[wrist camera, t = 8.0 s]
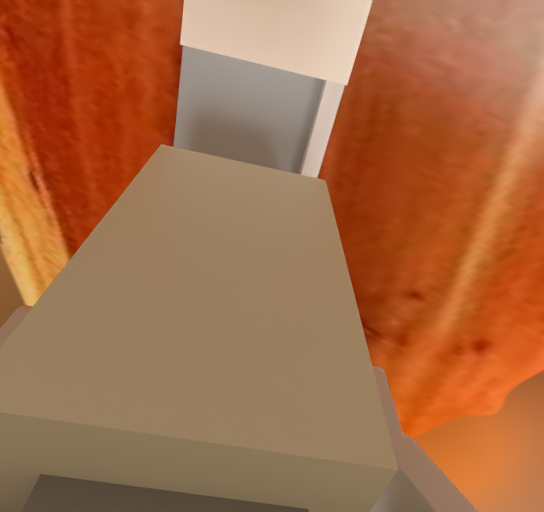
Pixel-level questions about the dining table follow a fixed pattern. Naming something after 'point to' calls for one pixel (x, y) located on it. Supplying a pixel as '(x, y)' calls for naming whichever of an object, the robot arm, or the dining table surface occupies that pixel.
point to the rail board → (265, 78)
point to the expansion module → (197, 357)
